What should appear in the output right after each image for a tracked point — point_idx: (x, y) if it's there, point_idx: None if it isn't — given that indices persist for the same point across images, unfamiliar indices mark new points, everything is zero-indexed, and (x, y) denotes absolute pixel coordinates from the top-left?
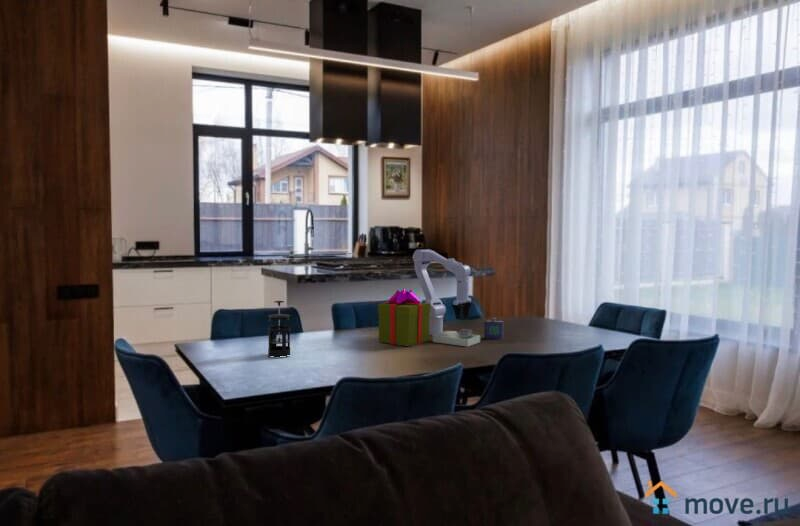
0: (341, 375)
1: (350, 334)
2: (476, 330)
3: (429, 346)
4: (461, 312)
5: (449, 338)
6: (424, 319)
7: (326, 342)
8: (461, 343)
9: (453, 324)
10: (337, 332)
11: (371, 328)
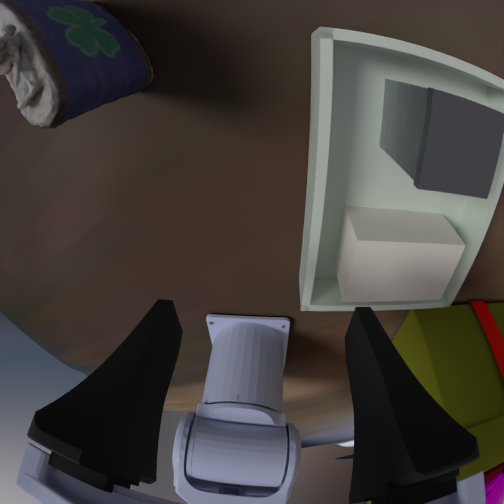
0: None
1: None
2: (27, 255)
3: (499, 255)
4: (389, 375)
5: (489, 212)
6: (478, 394)
7: None
8: None
9: (47, 341)
10: (351, 439)
11: None
